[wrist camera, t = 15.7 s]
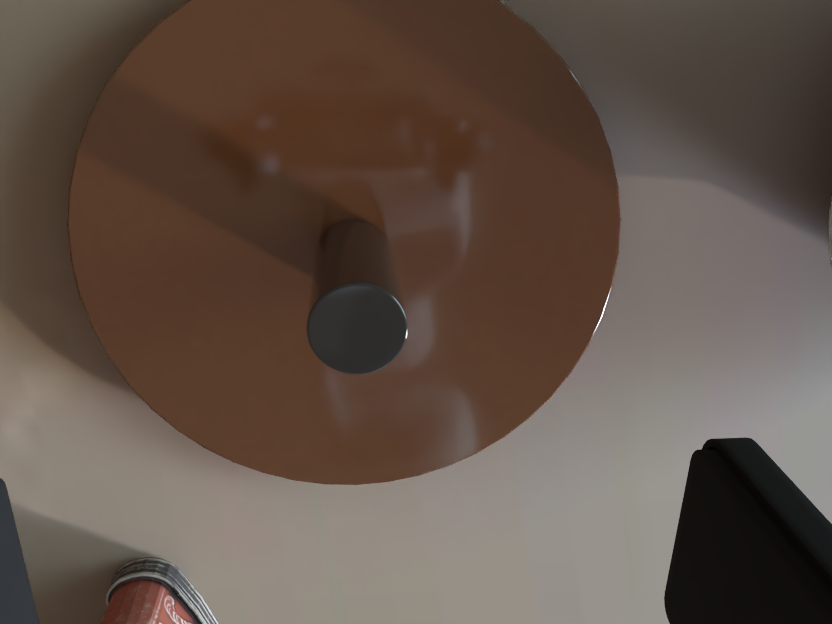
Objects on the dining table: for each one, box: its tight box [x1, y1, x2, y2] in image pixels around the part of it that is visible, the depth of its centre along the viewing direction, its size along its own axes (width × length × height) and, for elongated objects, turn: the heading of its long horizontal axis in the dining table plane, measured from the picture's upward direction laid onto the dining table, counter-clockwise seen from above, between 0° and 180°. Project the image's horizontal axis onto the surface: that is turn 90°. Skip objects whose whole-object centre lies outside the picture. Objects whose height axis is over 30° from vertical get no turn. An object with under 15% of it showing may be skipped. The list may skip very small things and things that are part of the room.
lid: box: [68, 0, 621, 485], centre depth 21 cm, size 17×17×7 cm
